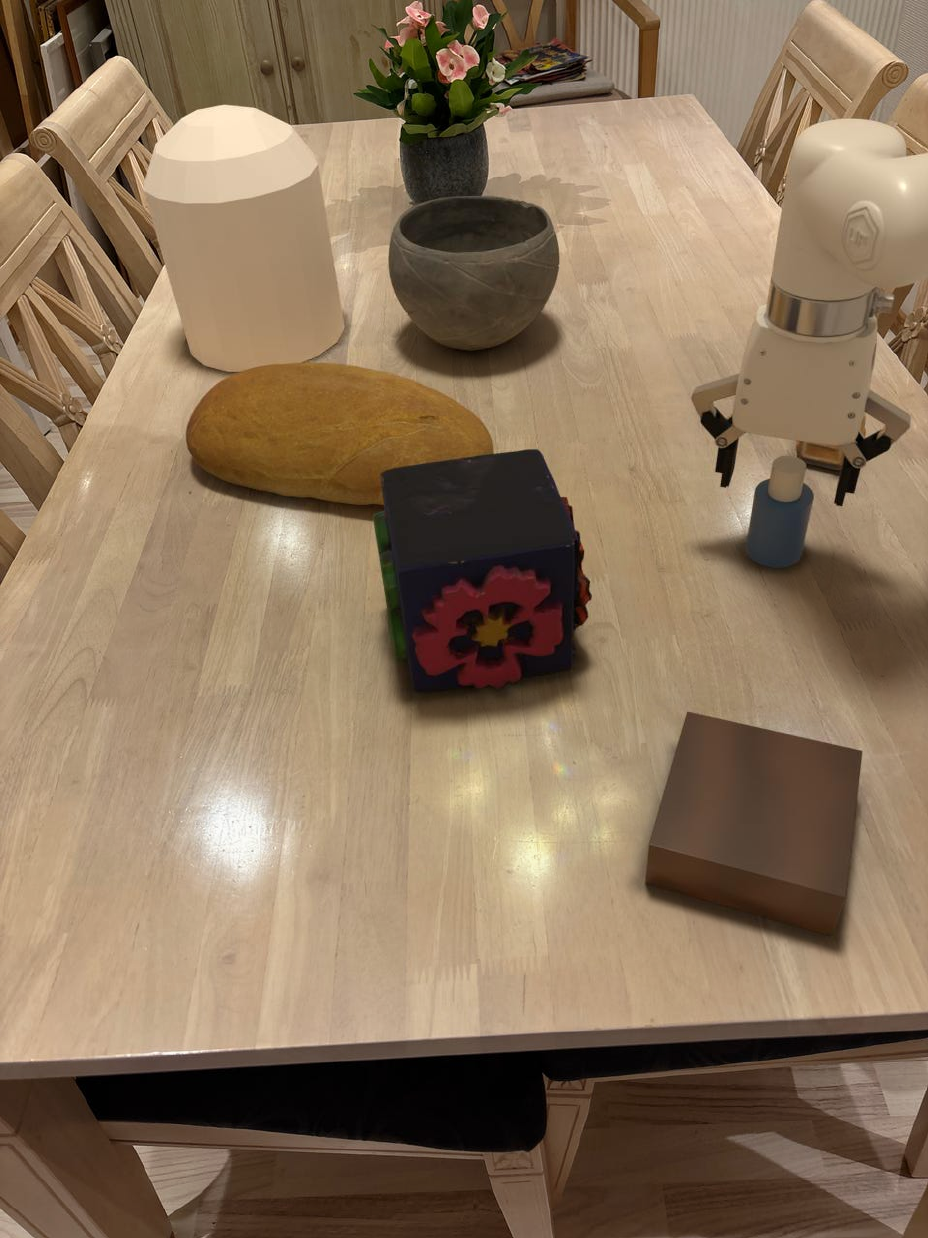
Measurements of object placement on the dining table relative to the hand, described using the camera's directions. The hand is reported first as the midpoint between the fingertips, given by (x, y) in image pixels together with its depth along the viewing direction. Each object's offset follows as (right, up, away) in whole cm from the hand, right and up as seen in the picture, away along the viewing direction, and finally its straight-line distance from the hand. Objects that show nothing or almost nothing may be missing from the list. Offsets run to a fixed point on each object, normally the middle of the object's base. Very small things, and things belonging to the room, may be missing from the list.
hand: (782, 487), depth 85 cm
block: (-8, -27, -18) cm, 33 cm away
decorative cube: (-26, -13, -1) cm, 29 cm away
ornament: (+10, +6, +16) cm, 19 cm away
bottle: (+1, -5, +4) cm, 7 cm away
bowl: (-26, +25, +40) cm, 54 cm away
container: (-54, +27, +45) cm, 75 cm away
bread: (-41, +6, +21) cm, 46 cm away
